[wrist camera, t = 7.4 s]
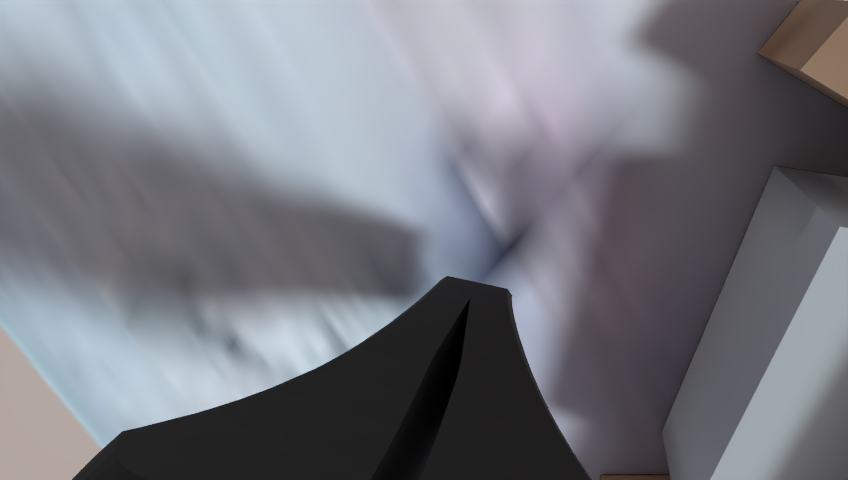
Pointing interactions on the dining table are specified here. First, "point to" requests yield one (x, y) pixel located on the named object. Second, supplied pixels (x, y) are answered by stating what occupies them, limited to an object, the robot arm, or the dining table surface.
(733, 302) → the grey slab
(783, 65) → the walnut shelf
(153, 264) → the dining table surface
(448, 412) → the robot arm
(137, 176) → the dining table surface
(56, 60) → the dining table surface
